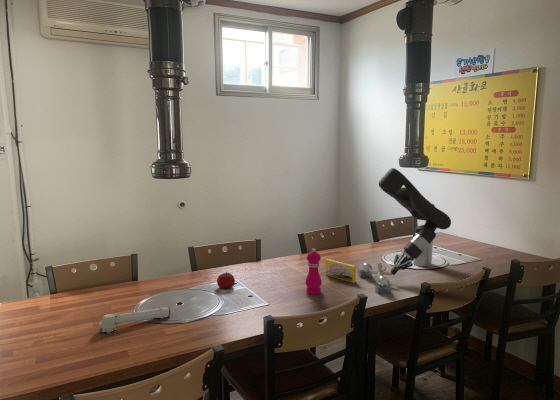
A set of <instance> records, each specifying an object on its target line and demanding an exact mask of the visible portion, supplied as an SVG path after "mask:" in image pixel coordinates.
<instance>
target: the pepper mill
mask: <svg viewBox="0 0 560 400" xmlns="http://www.w3.org/2000/svg"><path fill="white" fill-rule="evenodd" d="M316 250H317V249H316V248H312V249H311V251H310V252H308V253H307V255H306V260H307V261H308V262H307V267H308V273H307V276H306V278H305V282H304V284H305V285H306V293H307V294H309V295H319V294H321V286H322V283H323V282H322V277H321V275H320V273H319V266H320V261H321V259H322V258H321V254H320V253H319V252H317V251H316Z"/></svg>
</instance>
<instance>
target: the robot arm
mask: <svg viewBox="0 0 560 400" xmlns="http://www.w3.org/2000/svg"><path fill="white" fill-rule="evenodd" d="M378 186H379V189H380V190H381V191H383V192H384V193H385V194H387V195H388V196H390V197H391V198H392V199H394V200H395V201H397V203H398V204H399V205H401V207H402V208H404V209H406V211H408V212H409V213H410V215H411V216H412V217H413V218H414V219H415V220H420V221H425V223H424V224H422V225H418V226H415V228H414V236H413V238H411V239H410V240H409V242H407V244H406V245H405V246H404V247H403V250H404V251H403V252H401V253H400V254H395V257H394V259H393V260H394V261H393V267H392V268H391V269H390V270H389V271H391V272H392V275H391V276H395V275H396V274H397V273H398V271H400V270H402V271H404V270H406V269H408V268H411V267H413V265H415V266H417V267H418V266H419V267H423V266H428V267H431V266H432V265H433V247H434V245H433V244H434V243H433V242H434V239H436V237H437V234H436V230H437V229H439V230H447V229H449V228H450V227H451V225H452V219H451V217H450V216H449V215H448V214H447V213H445V212H444V211H442V210H440V209H439V208H437V207H436V205H435V204H433V203H432V202H431V201H429V200H428V199H427V198H426V197H425V196H424V195H422V193H421V192H420V190H418V188H417V187H416V186H415V185H414V184H413V183H412V182H411V181H410V180H409V179H408V178H407V176H405V175H404V174H403V173H402V172H400V171H399V170H398V169H396V168H395V167H394V168H393V167H392V168H389V170H387V172H386V173H385V174H384V175H383V176H382V177H381V179H380V180H379V182H378ZM403 186H404V187H403ZM430 265H431V266H430Z"/></svg>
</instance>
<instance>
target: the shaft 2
mask: <svg viewBox="0 0 560 400" xmlns="http://www.w3.org/2000/svg"><path fill="white" fill-rule="evenodd" d="M375 276H376V275H375ZM374 279H375V281H376V282H377V283H378V284H375V286H374V287H375V289H374V290H375V293H376V294H378V295H383V294H384V295H385V294H391V293H392V286H391V285H390V279H388V278H387V277H386V276H385V275H382V274H378V275H377V276H376V278H375V277H374Z"/></svg>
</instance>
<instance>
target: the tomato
mask: <svg viewBox="0 0 560 400" xmlns="http://www.w3.org/2000/svg"><path fill="white" fill-rule="evenodd" d="M216 283H217V287H219V289H225V288H229V289H231V288H234V285H235V283H236V280H235V276H234V275H233V274H232V273H230V272H227V271H226V272H223V273H221V274H219V276H218V277H217V279H216Z"/></svg>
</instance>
